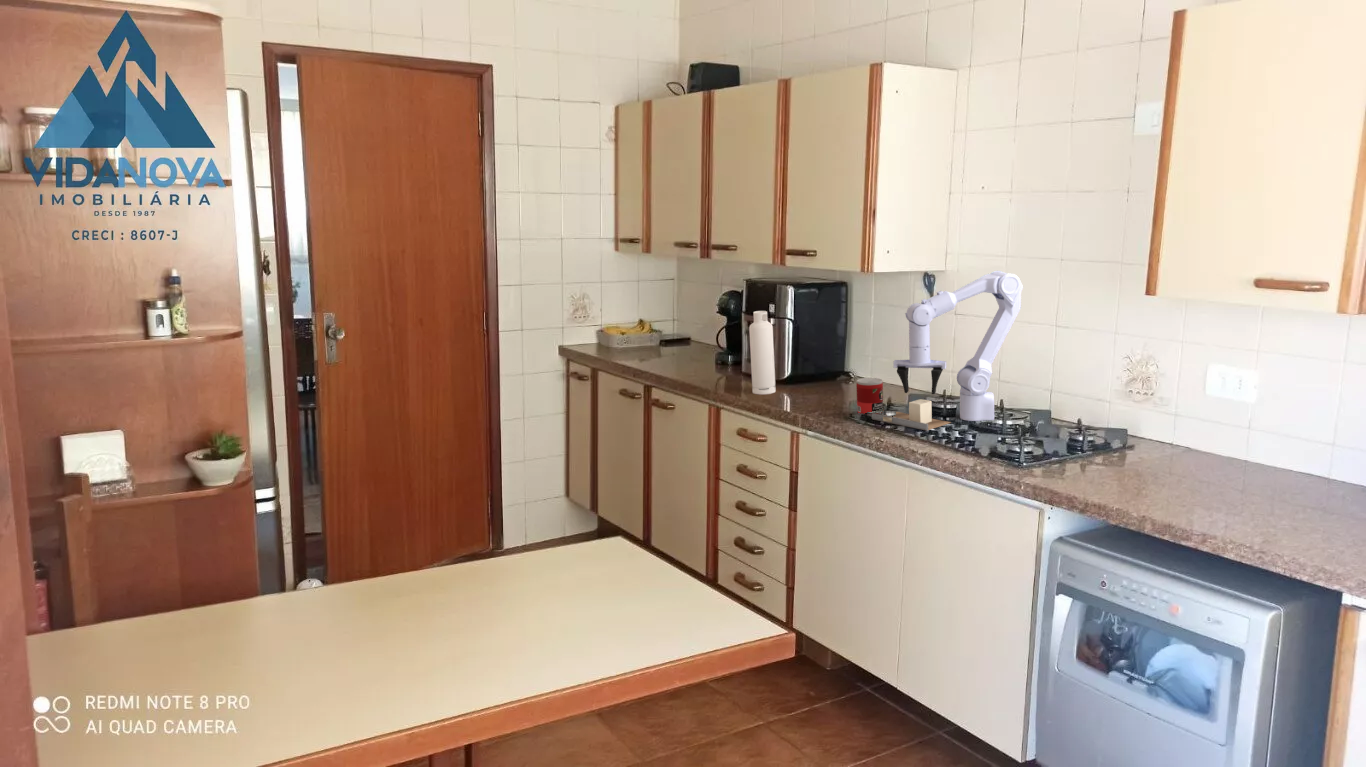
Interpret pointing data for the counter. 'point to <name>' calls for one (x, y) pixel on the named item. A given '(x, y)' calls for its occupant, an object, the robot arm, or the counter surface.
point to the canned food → (869, 394)
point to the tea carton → (920, 411)
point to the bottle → (762, 354)
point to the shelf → (908, 421)
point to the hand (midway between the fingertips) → (920, 392)
